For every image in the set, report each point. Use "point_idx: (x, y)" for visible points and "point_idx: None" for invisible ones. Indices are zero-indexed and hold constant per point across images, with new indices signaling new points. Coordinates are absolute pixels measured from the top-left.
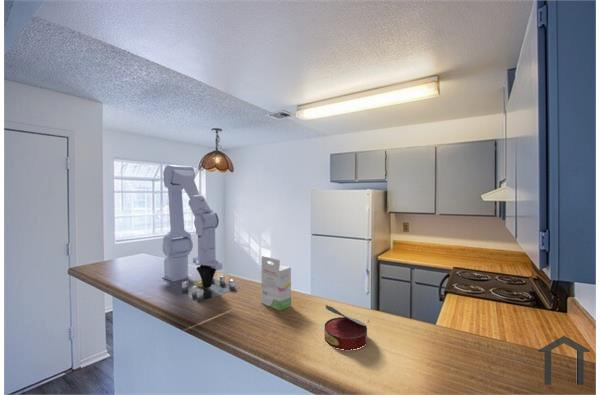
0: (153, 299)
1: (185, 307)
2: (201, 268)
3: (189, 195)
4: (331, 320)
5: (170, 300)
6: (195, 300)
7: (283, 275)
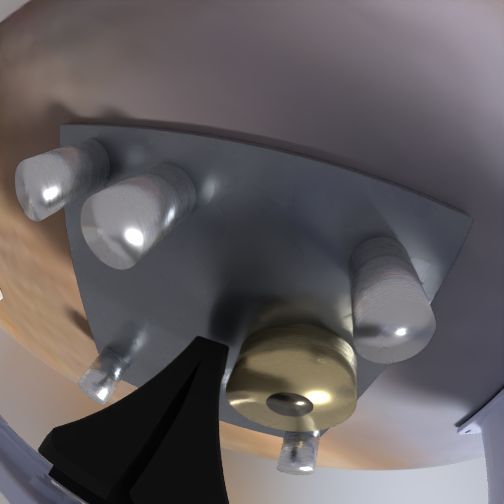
0: (496, 21)
1: (94, 28)
2: (88, 489)
3: None
4: None
5: (339, 25)
6: (94, 125)
7: None
